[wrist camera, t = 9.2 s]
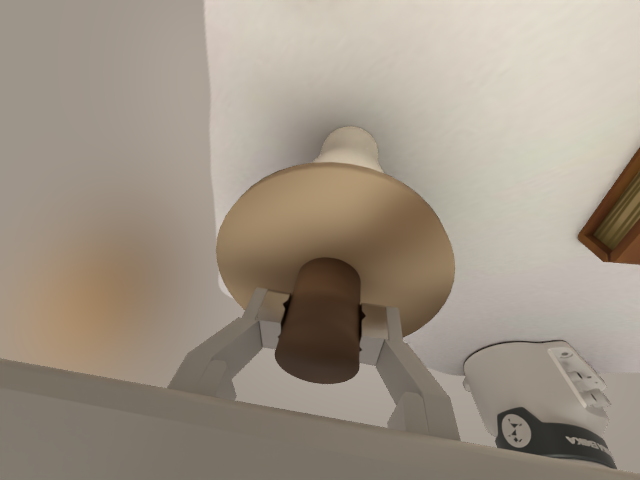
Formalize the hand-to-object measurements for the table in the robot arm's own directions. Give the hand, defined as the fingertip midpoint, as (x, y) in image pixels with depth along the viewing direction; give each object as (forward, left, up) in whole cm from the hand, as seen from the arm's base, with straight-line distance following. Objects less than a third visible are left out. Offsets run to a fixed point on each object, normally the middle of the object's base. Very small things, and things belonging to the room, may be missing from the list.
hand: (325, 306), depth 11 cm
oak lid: (0, 0, -2) cm, 2 cm away
